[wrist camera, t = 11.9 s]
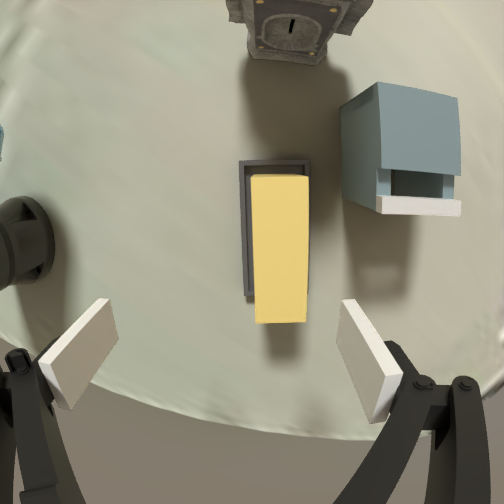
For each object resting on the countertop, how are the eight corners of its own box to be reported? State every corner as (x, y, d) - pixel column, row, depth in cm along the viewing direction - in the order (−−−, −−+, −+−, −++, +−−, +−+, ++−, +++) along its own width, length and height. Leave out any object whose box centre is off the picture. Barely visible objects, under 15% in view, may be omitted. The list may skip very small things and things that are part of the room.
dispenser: (341, 197, 38) (381, 213, 25) (339, 107, 35) (378, 81, 21) (402, 198, 38) (460, 216, 24) (401, 114, 34) (458, 97, 21)
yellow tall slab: (257, 279, 41) (255, 323, 29) (254, 174, 37) (250, 177, 25) (294, 278, 41) (305, 321, 29) (293, 173, 37) (308, 176, 25)
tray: (244, 290, 42) (244, 295, 40) (239, 161, 37) (238, 160, 35) (306, 289, 42) (308, 294, 40) (307, 160, 37) (309, 159, 35)
